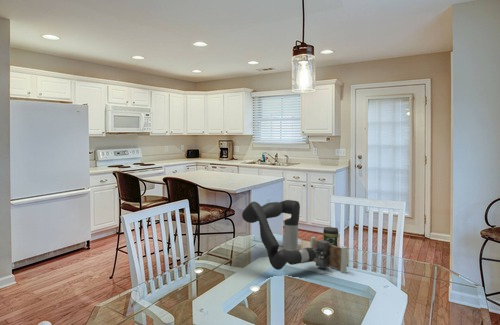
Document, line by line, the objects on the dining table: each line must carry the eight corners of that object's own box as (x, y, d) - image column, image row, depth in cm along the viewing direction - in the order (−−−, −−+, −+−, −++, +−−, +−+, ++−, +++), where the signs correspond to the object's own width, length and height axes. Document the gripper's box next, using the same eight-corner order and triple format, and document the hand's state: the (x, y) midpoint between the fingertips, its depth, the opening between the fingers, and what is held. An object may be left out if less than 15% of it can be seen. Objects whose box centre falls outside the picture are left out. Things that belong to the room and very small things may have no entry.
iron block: (315, 265, 188) (317, 241, 188) (322, 264, 191) (323, 240, 191) (322, 268, 184) (323, 243, 184) (328, 266, 187) (329, 242, 187)
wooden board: (309, 260, 202) (310, 237, 201) (313, 259, 203) (314, 236, 203) (342, 273, 181) (343, 247, 180) (346, 272, 183) (347, 247, 182)
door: (313, 259, 200) (314, 239, 200) (315, 259, 201) (315, 239, 201) (341, 270, 183) (341, 248, 182) (342, 270, 184) (343, 248, 183)
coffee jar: (338, 255, 213) (339, 226, 212) (337, 259, 205) (338, 229, 204) (322, 253, 215) (323, 225, 215) (321, 257, 208) (322, 228, 207)
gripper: (294, 258, 185) (316, 254, 195) (312, 266, 173) (335, 261, 183) (295, 245, 185) (316, 241, 194) (313, 252, 173) (335, 248, 183)
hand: (325, 251), depth 189 cm, fingers closed on iron block, 5 cm apart
